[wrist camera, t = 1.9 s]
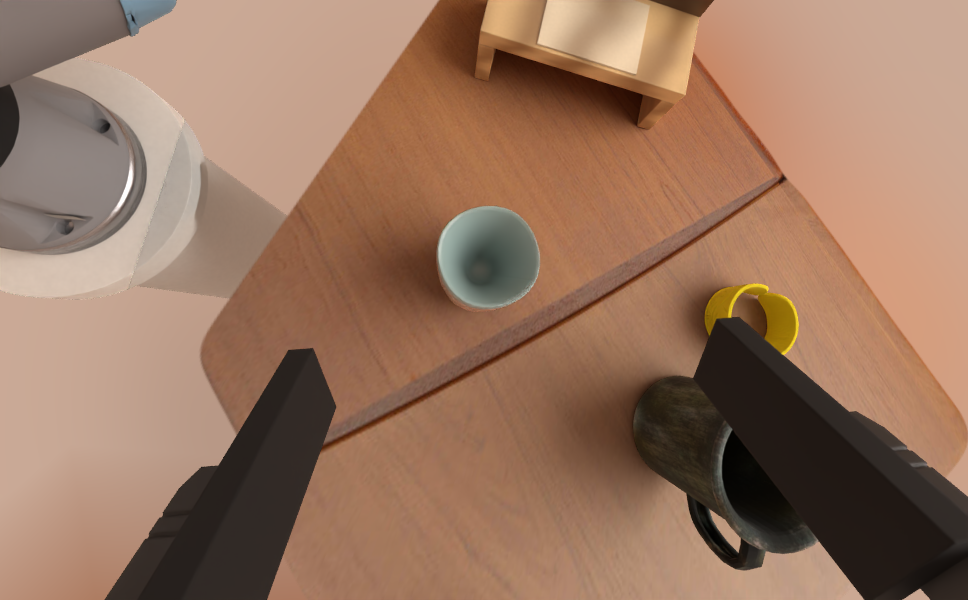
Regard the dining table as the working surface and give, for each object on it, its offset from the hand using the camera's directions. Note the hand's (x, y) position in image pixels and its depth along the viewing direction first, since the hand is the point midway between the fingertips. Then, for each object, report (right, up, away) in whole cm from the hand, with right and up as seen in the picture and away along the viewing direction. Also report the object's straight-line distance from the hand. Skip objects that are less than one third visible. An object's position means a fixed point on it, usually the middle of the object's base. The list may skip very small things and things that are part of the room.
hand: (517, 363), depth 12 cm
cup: (-2, +5, +24) cm, 24 cm away
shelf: (+9, +28, +27) cm, 39 cm away
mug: (+19, -13, +25) cm, 34 cm away
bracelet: (+27, 0, +27) cm, 38 cm away
